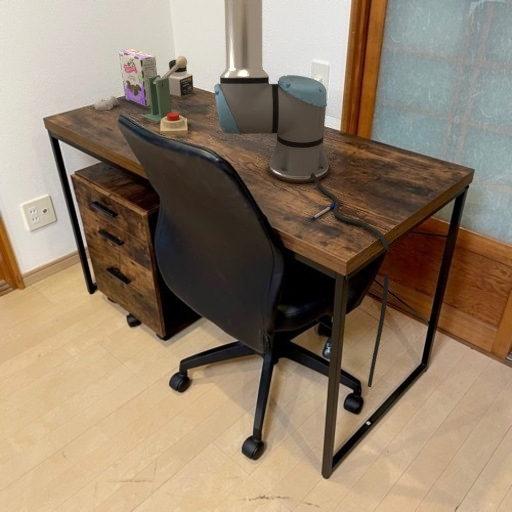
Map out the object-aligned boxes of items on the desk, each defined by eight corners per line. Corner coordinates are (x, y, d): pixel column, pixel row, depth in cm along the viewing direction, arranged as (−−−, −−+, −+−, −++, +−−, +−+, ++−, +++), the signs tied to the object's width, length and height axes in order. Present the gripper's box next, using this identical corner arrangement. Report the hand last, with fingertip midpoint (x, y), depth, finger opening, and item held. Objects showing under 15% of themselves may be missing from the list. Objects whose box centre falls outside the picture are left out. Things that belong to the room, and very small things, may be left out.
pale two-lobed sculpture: (100, 118, 173) (92, 109, 175) (121, 112, 178) (113, 104, 180) (100, 106, 170) (91, 98, 172) (121, 100, 174) (113, 92, 176)
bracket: (166, 111, 175) (162, 72, 168) (181, 116, 171) (178, 76, 164) (142, 119, 169) (137, 78, 162) (157, 124, 165) (152, 83, 158)
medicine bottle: (181, 99, 186) (178, 64, 179) (165, 96, 189) (162, 61, 182) (194, 94, 191) (191, 59, 184) (178, 91, 194) (176, 57, 187)
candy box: (124, 99, 185) (117, 50, 176) (139, 96, 189) (133, 48, 179) (146, 109, 177) (140, 58, 168) (160, 105, 180) (155, 55, 171)
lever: (183, 62, 170) (179, 52, 168) (191, 64, 168) (186, 54, 166) (154, 89, 166) (149, 80, 163) (161, 92, 164) (156, 82, 161)
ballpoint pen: (337, 202, 123) (337, 199, 122) (340, 203, 122) (340, 200, 122) (310, 220, 116) (310, 216, 116) (314, 221, 116) (314, 217, 115)
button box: (188, 137, 156) (187, 124, 154) (160, 138, 156) (159, 125, 153) (187, 125, 165) (186, 112, 162) (161, 126, 164) (160, 113, 162)
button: (179, 121, 157) (179, 116, 156) (167, 122, 156) (166, 116, 155) (179, 117, 160) (179, 112, 159) (167, 118, 159) (166, 112, 158)
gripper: (262, -64, 156) (254, 23, 166) (229, -65, 163) (223, 18, 173) (246, -68, 151) (238, 22, 161) (212, -69, 158) (207, 17, 168)
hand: (230, 20), depth 167 cm, fingers closed
